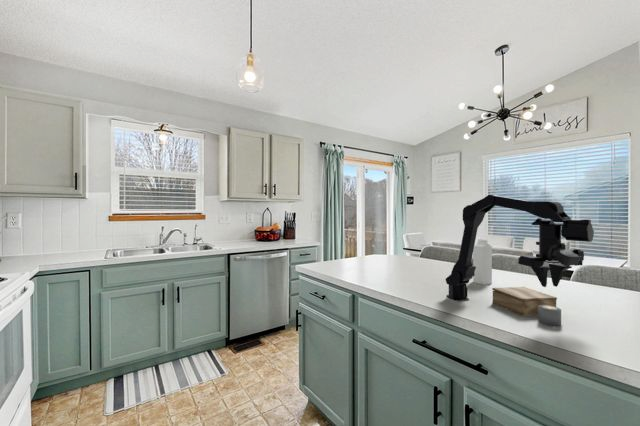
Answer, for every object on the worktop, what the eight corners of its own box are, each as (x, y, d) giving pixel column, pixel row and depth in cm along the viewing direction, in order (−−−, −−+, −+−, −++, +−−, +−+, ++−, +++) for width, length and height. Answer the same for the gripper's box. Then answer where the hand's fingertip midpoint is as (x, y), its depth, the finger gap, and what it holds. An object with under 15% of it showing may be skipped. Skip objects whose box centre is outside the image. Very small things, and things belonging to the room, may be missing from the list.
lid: (521, 301, 103) (521, 298, 103) (492, 289, 117) (492, 287, 117) (556, 299, 105) (556, 297, 105) (523, 288, 119) (523, 286, 119)
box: (521, 315, 103) (521, 301, 103) (492, 303, 117) (492, 290, 117) (556, 313, 105) (556, 299, 105) (524, 301, 119) (524, 289, 119)
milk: (482, 284, 146) (482, 240, 145) (472, 281, 152) (472, 239, 151) (492, 283, 147) (492, 240, 147) (482, 280, 153) (482, 238, 153)
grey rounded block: (549, 327, 94) (549, 311, 94) (533, 320, 100) (533, 305, 99) (566, 326, 94) (566, 310, 94) (549, 319, 100) (549, 304, 100)
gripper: (547, 242, 87) (547, 294, 88) (600, 241, 90) (600, 292, 90) (517, 239, 98) (516, 285, 99) (565, 237, 101) (565, 283, 101)
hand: (549, 286), depth 97 cm, fingers open, 4 cm apart
